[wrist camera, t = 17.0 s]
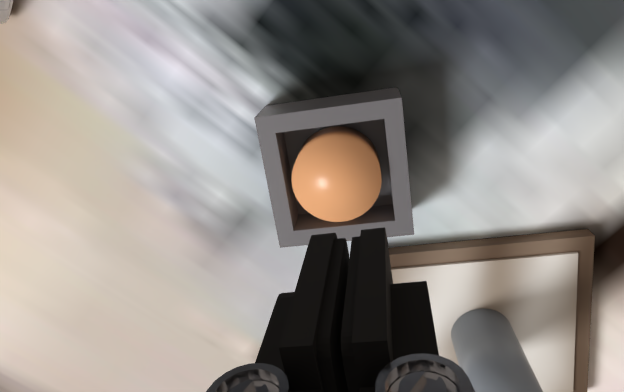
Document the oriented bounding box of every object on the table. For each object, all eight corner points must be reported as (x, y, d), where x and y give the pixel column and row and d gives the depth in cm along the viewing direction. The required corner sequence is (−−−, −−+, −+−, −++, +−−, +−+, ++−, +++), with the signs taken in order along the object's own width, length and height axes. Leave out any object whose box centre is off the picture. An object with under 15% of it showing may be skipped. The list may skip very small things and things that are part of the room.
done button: (375, 121, 29) (376, 131, 26) (384, 201, 30) (386, 217, 28) (290, 132, 29) (284, 143, 27) (304, 209, 31) (299, 226, 29)
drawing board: (587, 228, 31) (596, 237, 30) (580, 391, 36) (587, 403, 35) (366, 249, 33) (367, 258, 32) (386, 401, 38) (387, 413, 37)
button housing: (397, 87, 29) (401, 97, 26) (408, 211, 32) (414, 234, 29) (265, 105, 30) (254, 117, 27) (287, 223, 33) (280, 247, 30)
